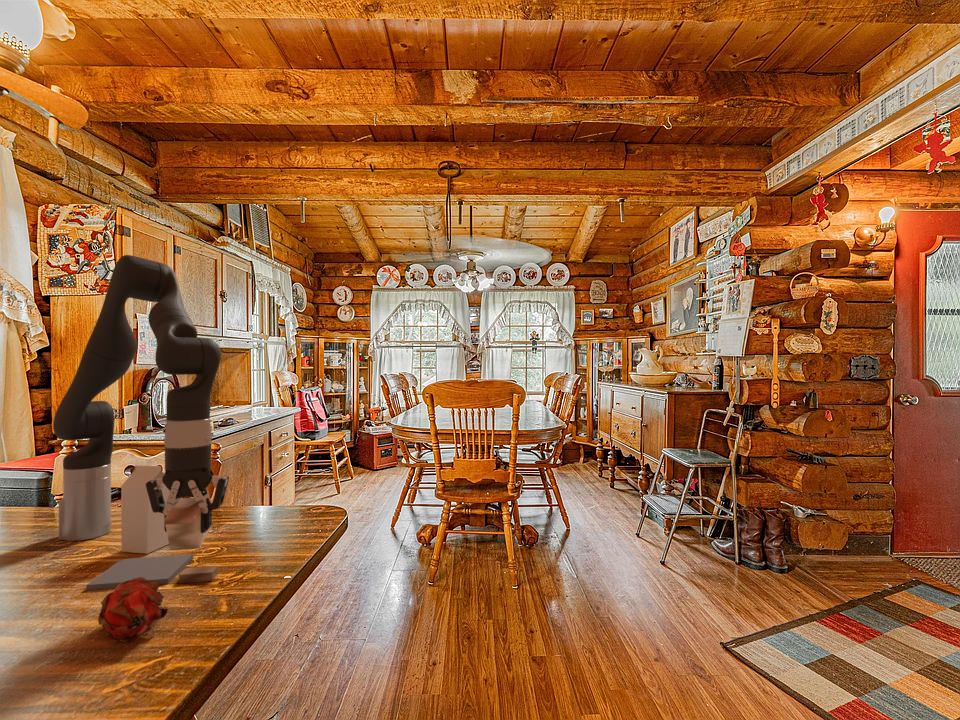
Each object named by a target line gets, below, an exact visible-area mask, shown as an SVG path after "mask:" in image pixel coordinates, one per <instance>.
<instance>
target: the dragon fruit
mask: <svg viewBox="0 0 960 720" xmlns="http://www.w3.org/2000/svg"><path fill="white" fill-rule="evenodd" d="M160 585H161V584H160V583H158V582H157V581H147V580H146V579H145V578H143V577H138V578H135V579H133V580H128V581H125V582H122V583H120V584H119V585H118V586H117V587H116V588H114V590H113V592H109V593H108V594H107V595H105V597H104V598H103V599H102V600H101V602H100V605H101V608H100V609H101V610H100V612H99V615H98V617H97V623H98V625H101V626H102V630H103V631H104V634H112V637H113V638H115V639H116V640H117V642H121V643H127V642H130V640H131V639H132V638H133V636H134V635H138V636H140V635H142V634H144V633H146V631H147V630H148V629H149V628H150V627H151V626H152V625H153V624H154V622H156V621H158V620H160V619H162V618H164V617H165V616H166V615H167V614H168V611H169V607H168V606H166V607H164V608H162V607H161V606H162V603H163V601H164V600H163V599H164V597H165V596H164V595H163V594H162V593H161V592H160V591H158V590H159V588H160ZM129 639H130V640H129Z"/></svg>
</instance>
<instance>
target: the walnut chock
mask: <svg viewBox="0 0 960 720" xmlns="http://www.w3.org/2000/svg"><path fill="white" fill-rule="evenodd" d="M218 575H219V566H218V565H213V566H212V565H211V566H198V567H196V566H195V567H184V568H183V569H182V570H181V571H180V572H179V573H178V584H186V583H187V584H188V583H200V582H209V581H210V582H211V581H214V579H215V578H216V577H217V576H218Z"/></svg>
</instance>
